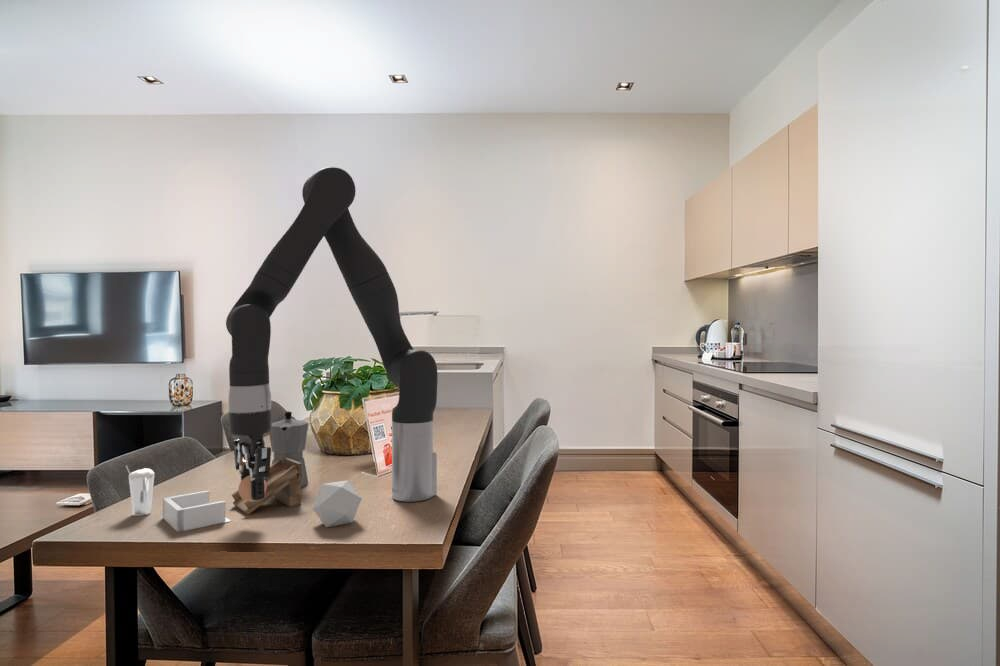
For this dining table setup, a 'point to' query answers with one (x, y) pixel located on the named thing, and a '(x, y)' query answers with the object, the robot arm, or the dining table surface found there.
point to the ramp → (277, 486)
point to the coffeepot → (289, 441)
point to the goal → (193, 511)
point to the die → (336, 503)
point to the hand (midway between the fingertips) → (252, 495)
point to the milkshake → (141, 491)
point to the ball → (247, 489)
